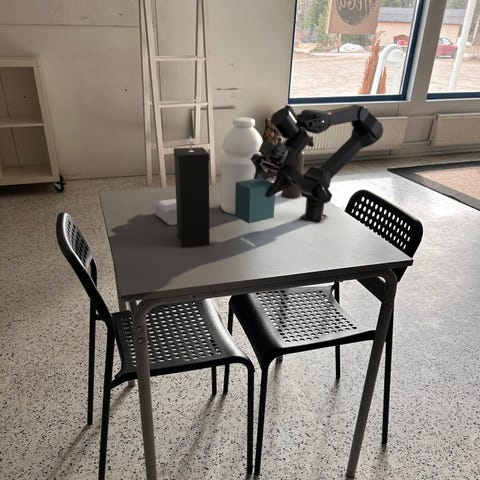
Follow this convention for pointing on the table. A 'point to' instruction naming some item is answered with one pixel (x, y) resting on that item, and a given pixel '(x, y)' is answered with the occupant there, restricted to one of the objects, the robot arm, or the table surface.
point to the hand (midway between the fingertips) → (258, 193)
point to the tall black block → (192, 195)
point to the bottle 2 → (293, 191)
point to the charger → (167, 211)
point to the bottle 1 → (238, 159)
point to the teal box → (254, 200)
